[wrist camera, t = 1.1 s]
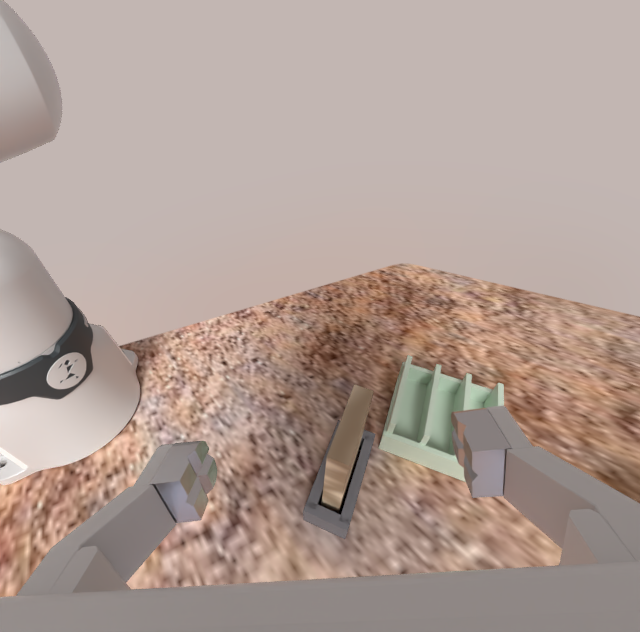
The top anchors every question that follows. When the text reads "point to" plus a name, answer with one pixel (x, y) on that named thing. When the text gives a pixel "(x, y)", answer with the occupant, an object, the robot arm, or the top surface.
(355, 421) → the maple board
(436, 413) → the dish rack
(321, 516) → the board stand
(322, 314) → the top surface
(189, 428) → the top surface
